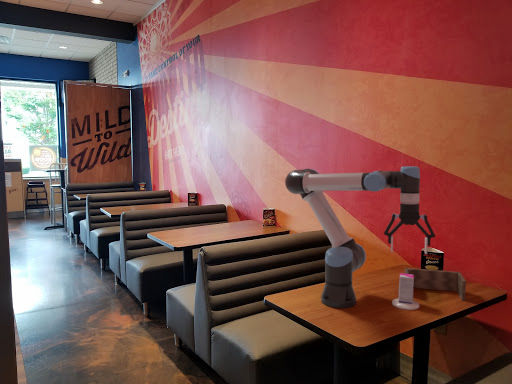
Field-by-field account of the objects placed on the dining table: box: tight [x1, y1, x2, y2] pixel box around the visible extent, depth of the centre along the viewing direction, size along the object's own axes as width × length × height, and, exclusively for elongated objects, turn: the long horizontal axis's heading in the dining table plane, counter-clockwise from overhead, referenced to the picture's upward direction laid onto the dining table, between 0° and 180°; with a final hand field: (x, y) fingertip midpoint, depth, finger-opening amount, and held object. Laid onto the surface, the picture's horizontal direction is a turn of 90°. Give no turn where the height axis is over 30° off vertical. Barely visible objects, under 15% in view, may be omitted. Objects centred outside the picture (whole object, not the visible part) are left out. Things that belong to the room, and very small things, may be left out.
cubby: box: [403, 267, 467, 302], centre depth 181 cm, size 24×13×9 cm, turn 72°
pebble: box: [391, 297, 420, 311], centre depth 168 cm, size 11×11×1 cm
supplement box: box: [398, 272, 414, 304], centre depth 169 cm, size 6×6×12 cm
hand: (408, 252), depth 166 cm, fingers open, 13 cm apart
